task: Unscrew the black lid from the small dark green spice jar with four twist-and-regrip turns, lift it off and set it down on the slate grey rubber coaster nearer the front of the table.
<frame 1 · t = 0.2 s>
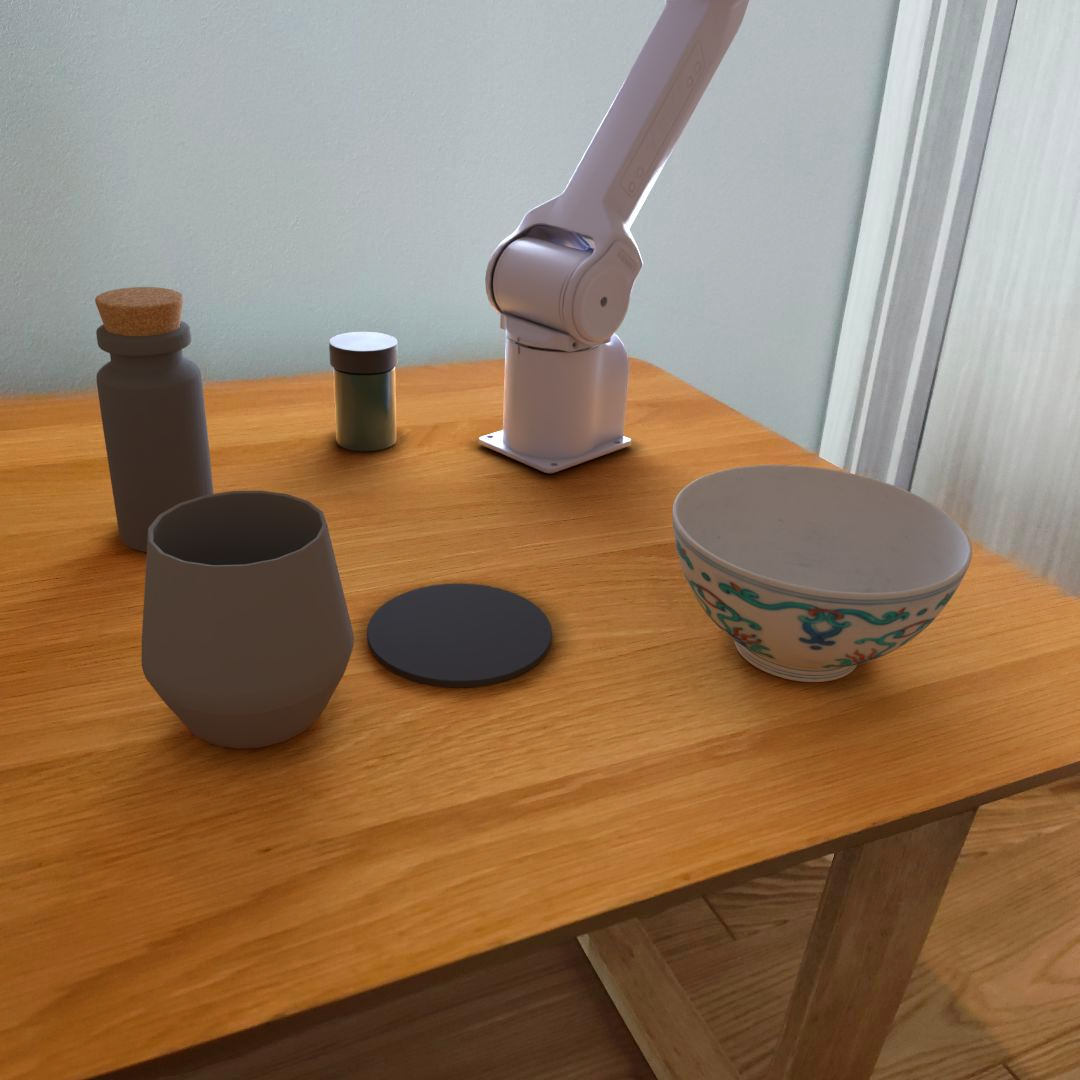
coaster: (460, 634, 58), on the table
cup: (256, 716, 51), on the table
bottle: (169, 535, 67), on the table
spice jar: (366, 440, 82), on the table
chinaware: (795, 651, 58), on the table
cap: (363, 345, 79), point 8 cm above the table, screwed on, not yet turned
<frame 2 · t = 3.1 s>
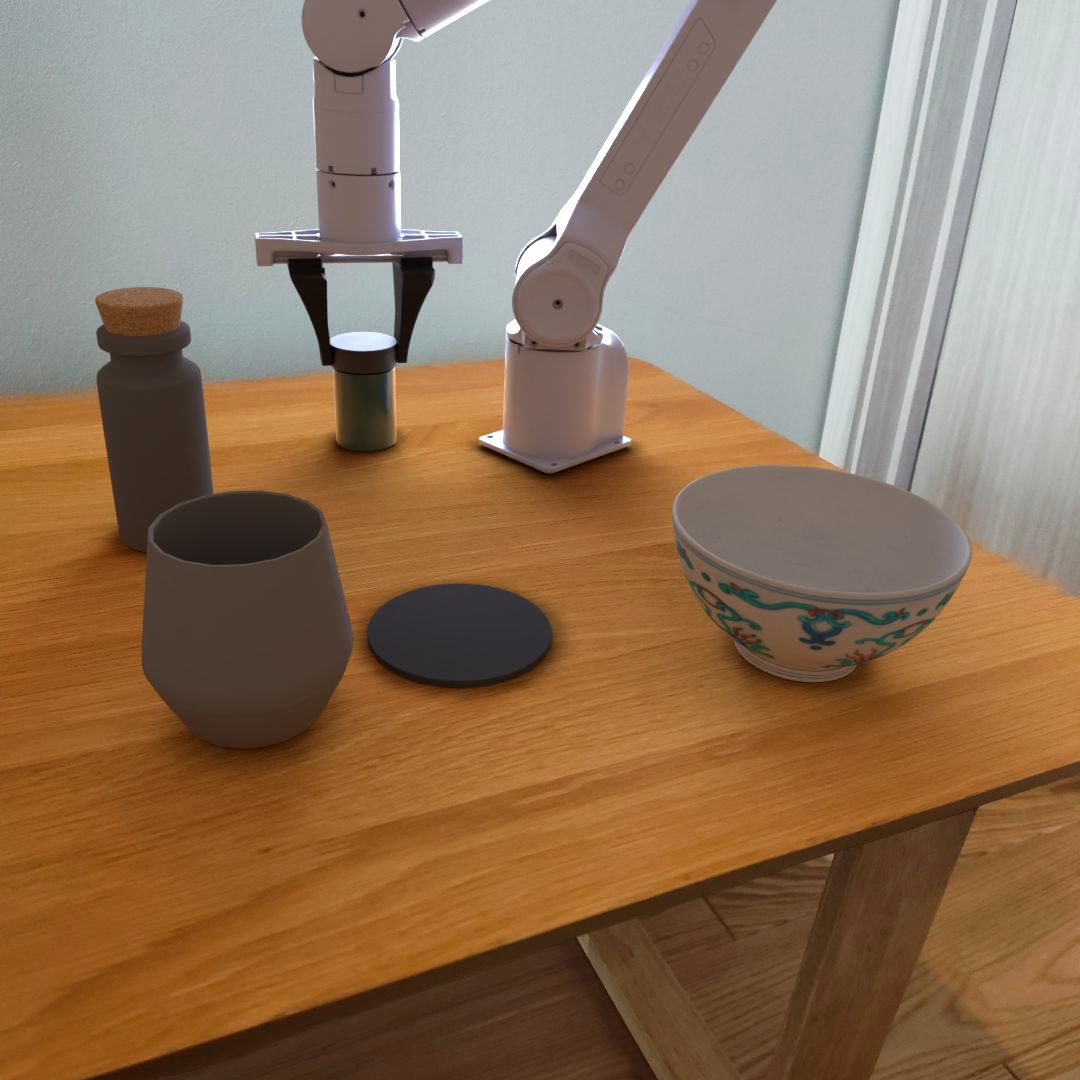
hand: (364, 360, 79), 6 cm above the table, tool pointing down, fingers closed on cap, 5 cm apart
cap: (363, 345, 79), point 8 cm above the table, screwed on, not yet turned, touching gripper
everything else where it was.
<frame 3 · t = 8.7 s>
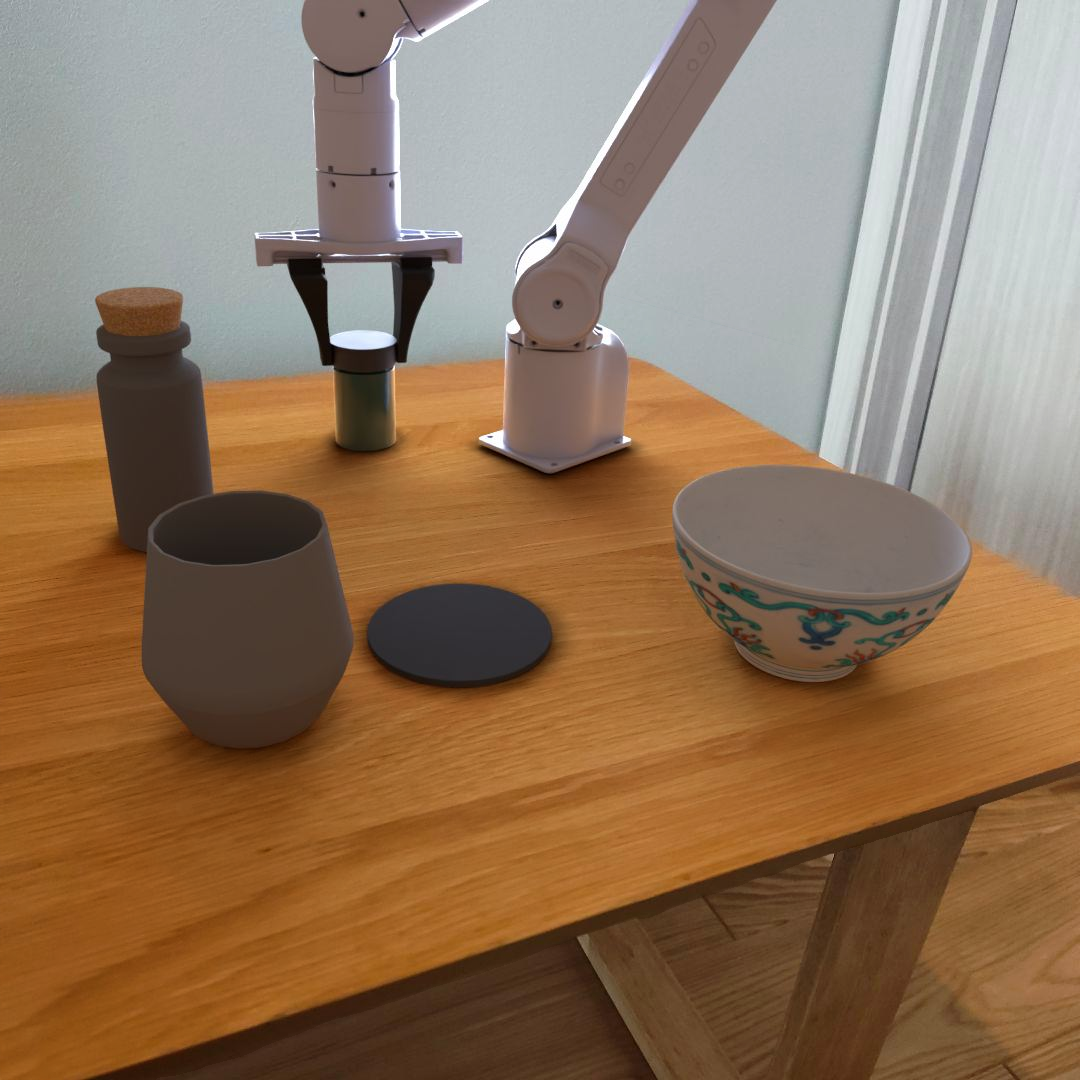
hand: (364, 360, 79), 6 cm above the table, tool pointing down, fingers closed on cap, 5 cm apart
cap: (362, 343, 79), point 8 cm above the table, turned 80° so far, risen 0.1 cm, still on its thread, touching gripper
everything else where it was.
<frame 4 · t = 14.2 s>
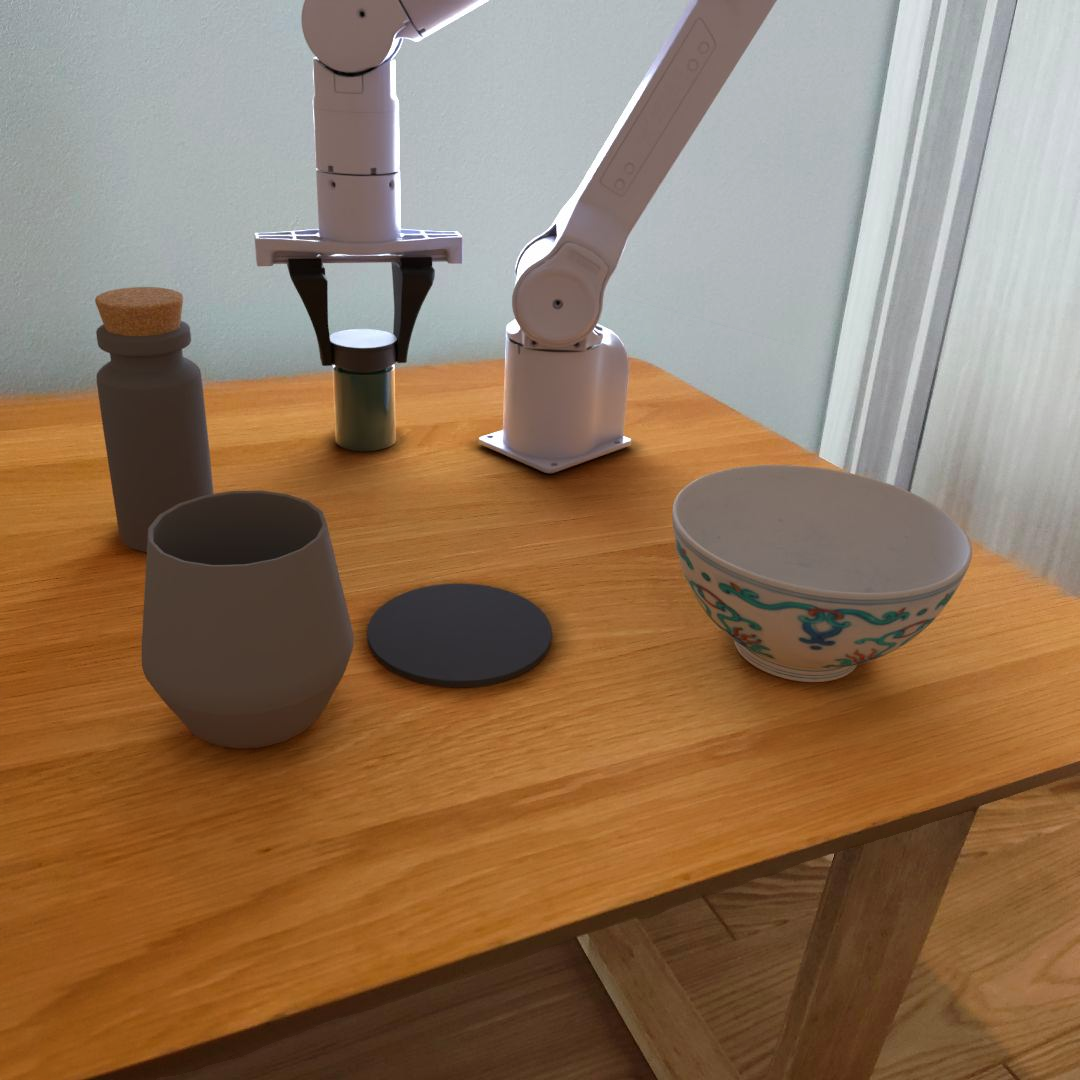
hand: (364, 360, 79), 6 cm above the table, tool pointing down, fingers closed on cap, 5 cm apart
cap: (362, 342, 79), point 8 cm above the table, turned 163° so far, risen 0.2 cm, still on its thread, touching gripper
everything else where it was.
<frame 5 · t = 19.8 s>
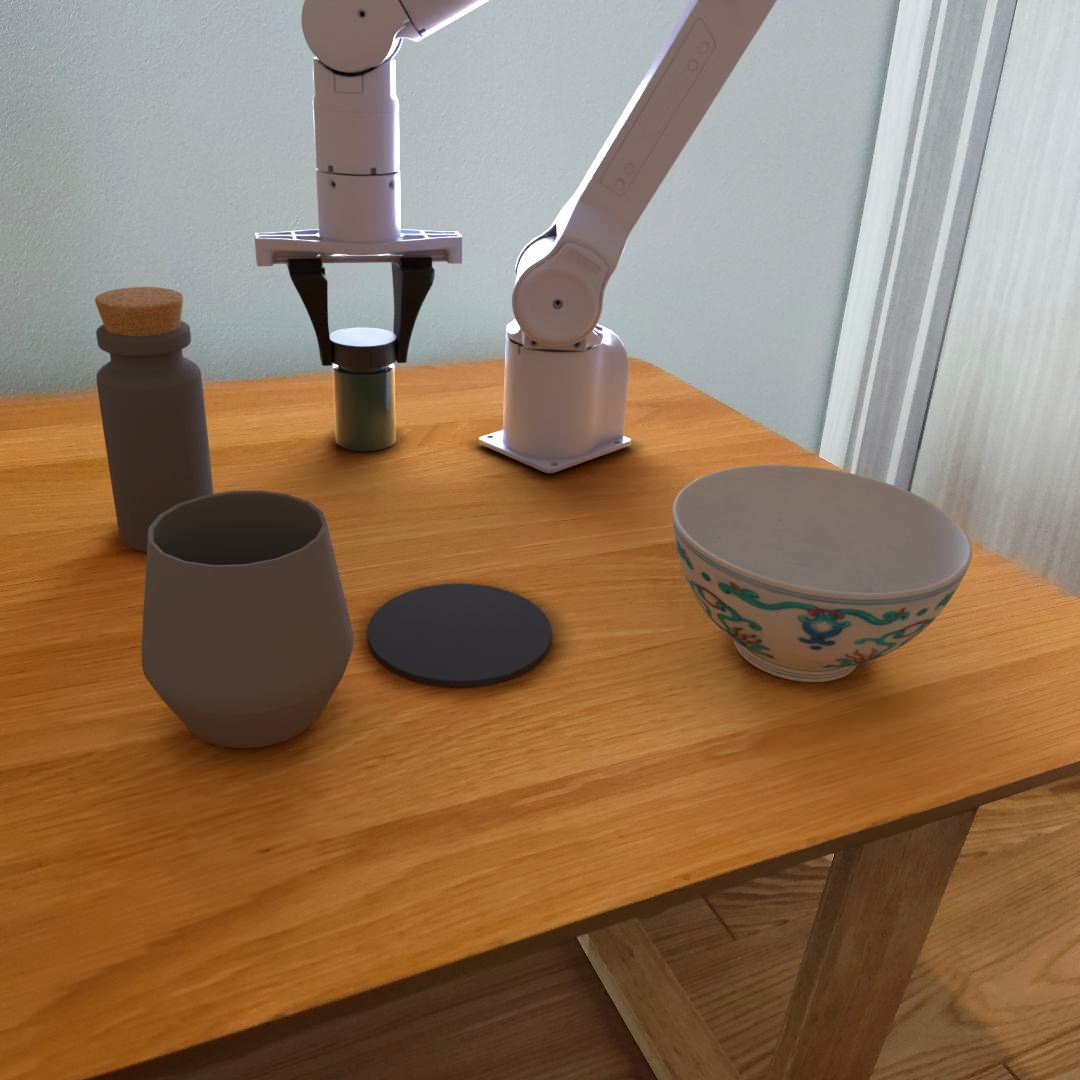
hand: (363, 360, 79), 6 cm above the table, tool pointing down, fingers closed on cap, 5 cm apart
cap: (362, 340, 78), point 8 cm above the table, turned 247° so far, risen 0.3 cm, still on its thread, touching gripper
everything else where it was.
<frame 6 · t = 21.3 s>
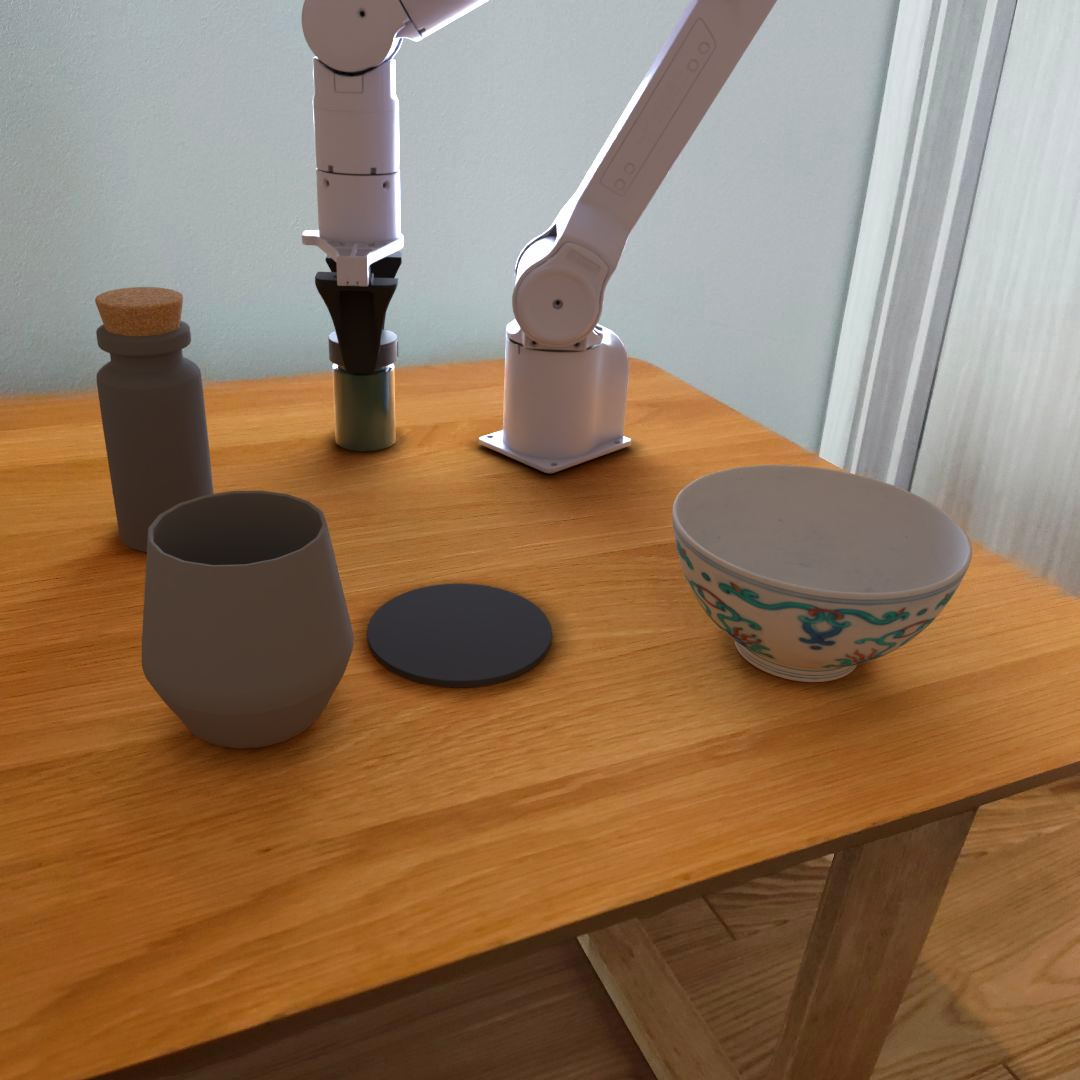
hand: (363, 360, 79), 6 cm above the table, tool pointing down, fingers closed on cap, 5 cm apart
cap: (362, 340, 78), point 8 cm above the table, off its thread, touching gripper
everything else where it was.
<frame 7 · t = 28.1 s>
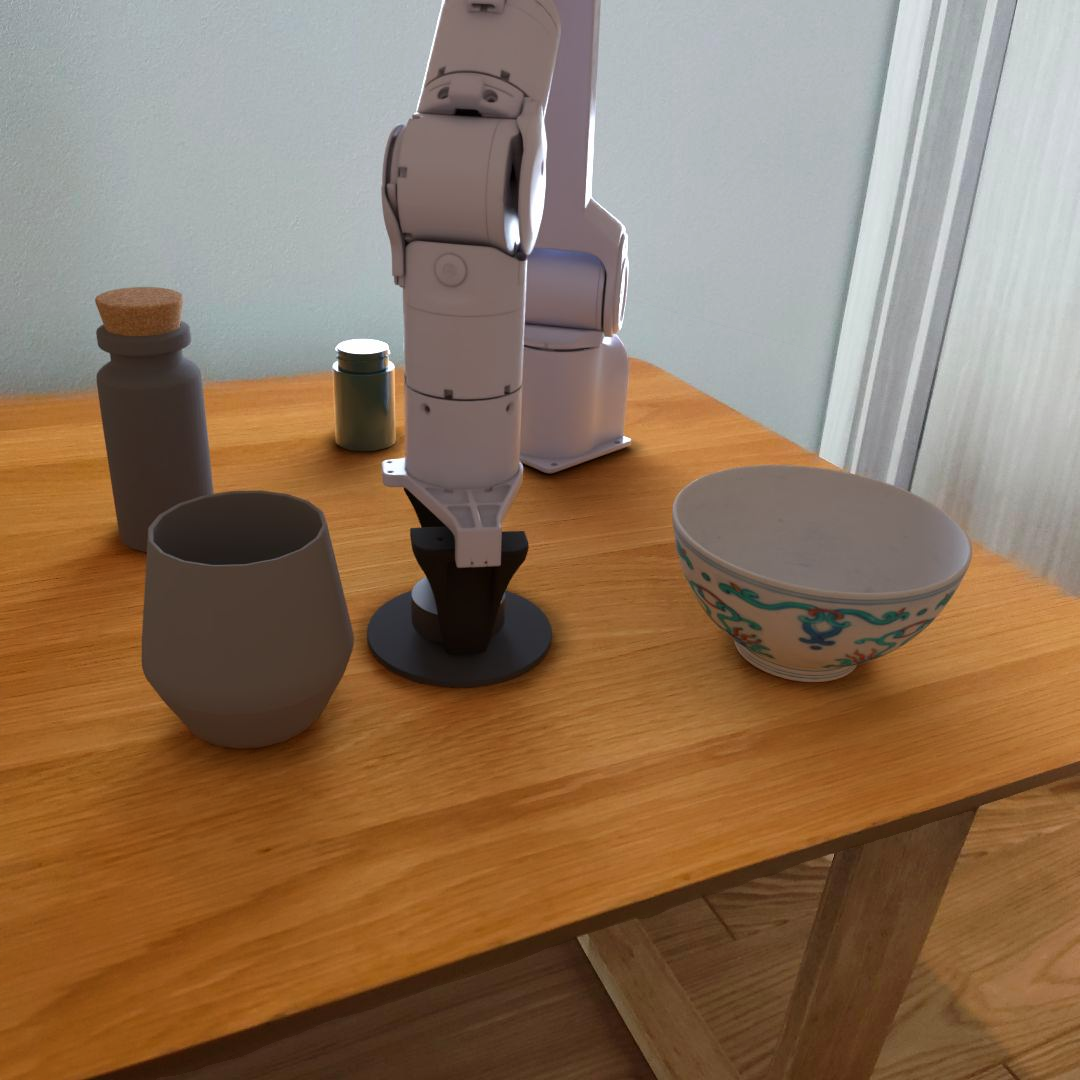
hand: (460, 621, 57), 1 cm above the table, tool pointing down, fingers closed on cap, 5 cm apart
cap: (458, 597, 57), point 2 cm above the table, off its thread, touching gripper
everything else where it was.
when the fingers open (2 cm above the table, at t = 37.6 s): cap drops 2 cm, resting on coaster.
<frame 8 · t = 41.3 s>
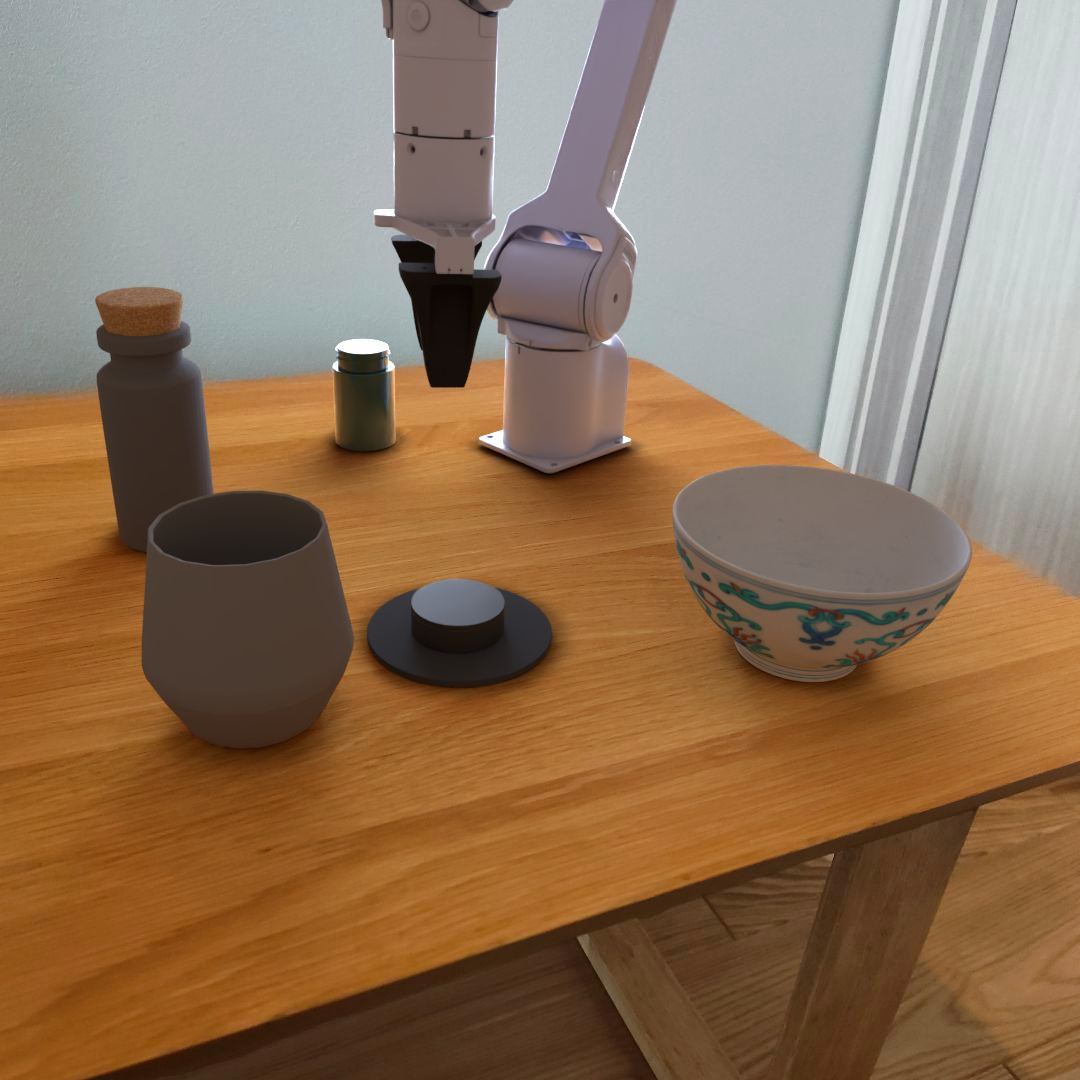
hand: (441, 366, 66), 10 cm above the table, tool pointing down, fingers open, 7 cm apart
cap: (458, 606, 57), point 2 cm above the table, off its thread, touching coaster
everything else where it was.
at the end: the gripper is holding nothing; cap point 1.8 cm above the table; cap inside the target area on the coaster (0.1 cm from its centre), point 1.8 cm above the coaster's base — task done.
